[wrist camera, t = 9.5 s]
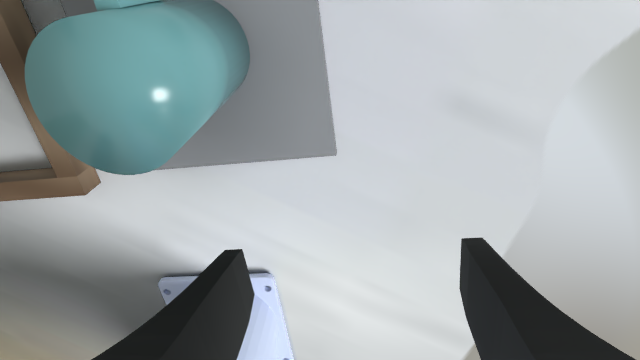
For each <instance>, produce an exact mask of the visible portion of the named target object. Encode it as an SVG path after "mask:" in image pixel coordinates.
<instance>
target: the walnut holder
mask: <svg viewBox="0 0 640 360" xmlns="http://www.w3.org/2000/svg"><path fill="white" fill-rule="evenodd" d="M35 37H36V34H35V32H34V29H33V27H32V25H31V23H30V20H29V18H28V16H27V13H26V11H25V9H24V7H23V4H22V2H21V0H0V63H1V65H2V67H3V69H4V71H5V73H6V75H7V77H8V79H9V81H10V83H11V85H12V87H13V89H14V91H15V93H16V95H17V97H18V99H19V101H20V103H21V105H22V107H23V109H24V111H25V113H26V115H27V117H28V119H29V121H30V123H31V125H32V127H33V129H34V131H35V133H36V135H37V138H38V140H39V142H40V144H41V146H42V148H43V150H44V152H45V154H46V156H47V158H48V160H49V162H50V164H51V166H52V168H45V169H33V170H21V171H9V172H0V201H12V200H25V199H39V198H53V197H67V196H80V195H86V194H88V193H89V192H90V191H91V190H92V189H94V188H95V187H96V186H97V185H98V184H99V183H101V182H100V179H99V177H98V175H97V173H96V170H95V168H94V167H92V166H89V165H87V164H85V163H84V162H82V161H80V160H78V159H77V158H75V157H74V156H72V155H71V154H70V153H68V152H67V151H66V150H65V149H63V148H62V147H61V146H60V145H59V144H58V143H57V142H56V141H55V140H54V139H53V138H52V137H51V136H50V134H49V133H48V132H47V131H46V130H45V128H44V127H43V125H42V124H41V122H40V121H39V119H38V117H37V115H36V114H35V112H34V110H33V107H32V105H31V102H30V100H29V97H28V93H27V89H26V83H25V62H26V57H27V53H28V50H29V48H30V46H31V44H32V42H33V40H34V39H35Z"/></svg>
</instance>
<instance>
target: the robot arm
mask: <svg viewBox="0 0 640 360" xmlns="http://www.w3.org/2000/svg"><path fill="white" fill-rule="evenodd" d="M266 286H270V287H266ZM158 287H159V289H160V291H161V294H162V296H163V299H164V301H165V303H166V306H165V307H164V308H163V309H162V310H161V311H160V312H159V313H157V314H156V315H155V316H154V317H152V318H151V319H150V320H149V321H147V322H146V323H145V324H143V325H142V326H141V327H139V328H138V329H137V330H135V331H134V332H133V333H131V334H130V335H129V336H127V337H126V338H124V339H123V340H121V341H120V342H118V343H117V344H115V345H114V346H112V347H111V348H109V349H108V350H106V351H105V352H103V353H102V354H100V355H98V356H97V357H95V358H93V359H92V360H294V357H293V353H292V349H291V345H290V340H289V336H288V332H287V328H286V324H285V320H284V316H283V311H282V307H281V303H280V299H279V295H278V291H277V286H276V282H275V279H274V277H273V276H272V275H271V274H268V273H260V274H249V272H248V269H247V265H246V261H245V258H244V254H243V251H242V249H237V250H225V251H224V252H223V253H221V254H220V255H219V256H218V257H217V258H216V259H215V260H214V261H213V262H212V263H211V264H210V265H209V266H208V267H207V268H206V269H205V270H204V271H203V272H202V273H201V274H200V275H199V276H184V277H164V278H161V279H160V281H159V283H158ZM167 289H168V290H167ZM169 290H170V291H169ZM460 292H461V297H462V301H463V306H464V310H465V314H466V318H467V321H468V324H469V327H470V330H471V333H472V336H473V338H474V341H475V344H476V347H477V350H478V352H479V355H480V358H481V360H635V359H634V358H632V357H630V356H629V355H627V354H625V353H623V352H622V351H620V350H618V349H617V348H615V347H614V346H612V345H610V344H609V343H607V342H606V341H604V340H602V339H600V338H599V337H598V336H596V335H595V334H593V333H591V332H590V331H588V330H587V329H585V328H584V327H583V326H581V325H580V324H578V323H577V322H576V321H574V320H573V319H571V318H570V317H569V316H567V315H566V314H564V313H563V312H562V311H560V310H559V309H558V308H557V307H555V306H554V305H553V304H552V303H550V302H549V301H548V300H547V299H546V298H544V297H543V296H542V295H541V294H540V293H538V292H537V291H536V290H535V289H534V288H533V287H532V286H530V285H529V284H528V283H527V282H526V281H525V280H524V279H523V278H522V277H521V276H520V275H518V274H517V272H515V271H514V270H513V269H512V268H511V267H510V266H509V265H508V264H507V263H506V262H505V261H504V260H503V259H502V258H501V257H500V256H499V254H498V253H497V252H496V251H495V250H494V249H493V248H492V247H491V246H490V245H489V244H488V243H487V242H486V241H485V240H484V239H483V238H464V239H462V241H461V265H460Z"/></svg>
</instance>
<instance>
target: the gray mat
mask: <svg viewBox="0 0 640 360" xmlns="http://www.w3.org/2000/svg"><path fill="white" fill-rule="evenodd" d="M60 1H61V4H62V6H63V9H64V11H65V14H66V16H67V17H71V16H76V15H81V14H87V13H92V12H97V9H96V6H95V3H94V0H60ZM214 1H216V2H218V3H219V4H221V5H222V6H224V7H225V8H226V9H227V10H228V11H230V12H231V13H232V14H233V16H234V17H235V18H236V19H237V21H238V22H239V23H240V25H241V27H242V29H243V31H244V33H245V35H246V38H247V41H248V45H249V51H250V64H249V69H248V73H247V76H246V78H245V80H244V82H243V83H242V85H241V86H240V87H239V89H238V90H237V91H236V92H235V93H234V94H233V95H232V96H231V97H230V98H229V99H228V100H227V101H226V102H225V103H224V104H223V105H222V106H221V107H220V108H219V109H218V110H217V111H216V112H215V113H214V114H213V115H212V116H211V117H210V118H209V120H208V121H207V122H206V123H205V124H204V125H203V126H202V127H201V128H200V129H199V130H198V131H197V132H196V133H195V134H194V135H193V136H192V137H191V138H190V139H189V140H188V141H187V142H186V143H185V144H184V145H183V146H182V147H181V148H180V149H179V150H178V151H177V152H176V153H175V154H174V155H173V156H172V157H171V158H170V159H169V160H168V161H167V162H166V163H165V164H163V165H162V166H160V167H159V168H157V169H154V170H162V169H175V168H187V167H199V166H212V165H224V164H237V163H249V162H261V161H274V160H286V159H299V158H311V157H323V156H336V154H337V150H336V142H335V134H334V126H333V118H332V110H331V102H330V93H329V85H328V77H327V69H326V61H325V53H324V44H323V36H322V28H321V20H320V12H319V4H318V0H214ZM100 11H103V10H100Z"/></svg>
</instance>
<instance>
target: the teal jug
mask: <svg viewBox="0 0 640 360" xmlns="http://www.w3.org/2000/svg"><path fill="white" fill-rule="evenodd" d="M94 3H95V6H96V9H97V12H92V13H87V14H81V15H76V16H71V17H66V18H62V19H60V20H57V21H55V22H53V23H51V24H49V25H48V26H46V27H45V28H44V29H43V30H42V31H41V32H39V33H38V35H37V36H36V37H35V39H34V40H33V42H32V44H31V46H30V48H29V50H28V53H27V57H26V62H25V83H26V89H27V93H28V97H29V100H30V102H31V105H32V107H33V110H34V112H35V114H36V115H37V117H38V119H39V121H40V122H41V124H42V125H43V127H44V128H45V130H46V131H47V132H48V133H49V134H50V136H51V137H52V138H53V139H54V140H55V141H56V142H57V143H58V144H59V145H60V146H61V147H62V148H63V149H65V150H66V151H67V152H68V153H70V154H71V155H72V156H74V157H75V158H77V159H78V160H80V161H82V162H84V163H85V164H87V165H89V166H92V167H94V168H96V169H99V170H102V171H105V172H109V173H114V174H122V175H135V174H142V173H146V172H149V171H152V170H154V169H157V168H159V167H160V166H162V165H163V164H165V163H166V162H167V161H168V160H169V159H170V158H171V157H172V156H173V155H174V154H175V153H176V152H177V151H178V150H179V149H180V148H181V147H182V146H183V145H184V144H185V143H186V142H187V141H188V140H189V139H190V138H191V137H192V136H193V135H194V134H195V133H196V132H197V131H198V130H199V129H200V128H201V127H202V126H203V125H204V124H205V123H206V122H207V121H208V120H209V118H210V117H211V116H212V115H213V114H214V113H215V112H216V111H217V110H218V109H219V108H220V107H221V106H222V105H223V104H224V103H225V102H226V101H227V100H228V99H229V98H230V97H231V96H232V95H233V94H234V93H235V92H236V91H237V90H238V89H239V87H240V86H241V85H242V83H243V82H244V80H245V78H246V76H247V73H248V69H249V64H250V51H249V45H248V41H247V38H246V35H245V33H244V31H243V29H242V27H241V25H240V23H239V22H238V21H237V19H236V18H235V17H234V16H233V14H232V13H231V12H230V11H228V10H227V9H226V8H225V7H224V6H222V5H221V4H219V3H218V2H216V1H214V0H94ZM100 10H103V11H100Z"/></svg>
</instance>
